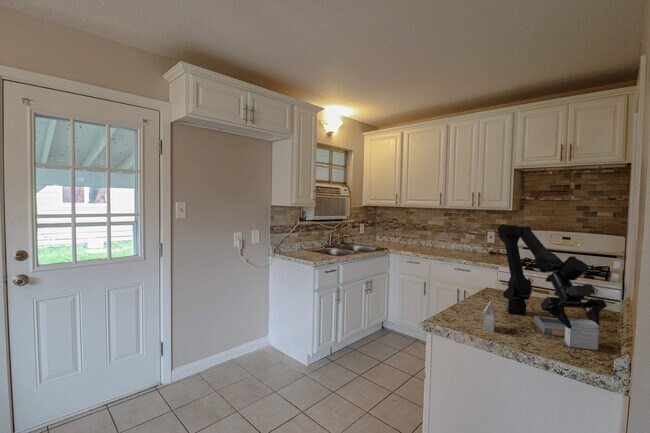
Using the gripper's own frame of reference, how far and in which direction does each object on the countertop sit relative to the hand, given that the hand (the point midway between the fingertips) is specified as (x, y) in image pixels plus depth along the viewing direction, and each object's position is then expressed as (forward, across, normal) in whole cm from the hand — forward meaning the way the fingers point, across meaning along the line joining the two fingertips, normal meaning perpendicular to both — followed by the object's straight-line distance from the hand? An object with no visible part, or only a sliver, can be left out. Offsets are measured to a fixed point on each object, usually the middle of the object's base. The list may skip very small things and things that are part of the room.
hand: (584, 328), depth 105 cm
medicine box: (+4, 0, +6) cm, 7 cm away
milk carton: (-5, -24, +15) cm, 29 cm away
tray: (-6, +1, +15) cm, 17 cm away
